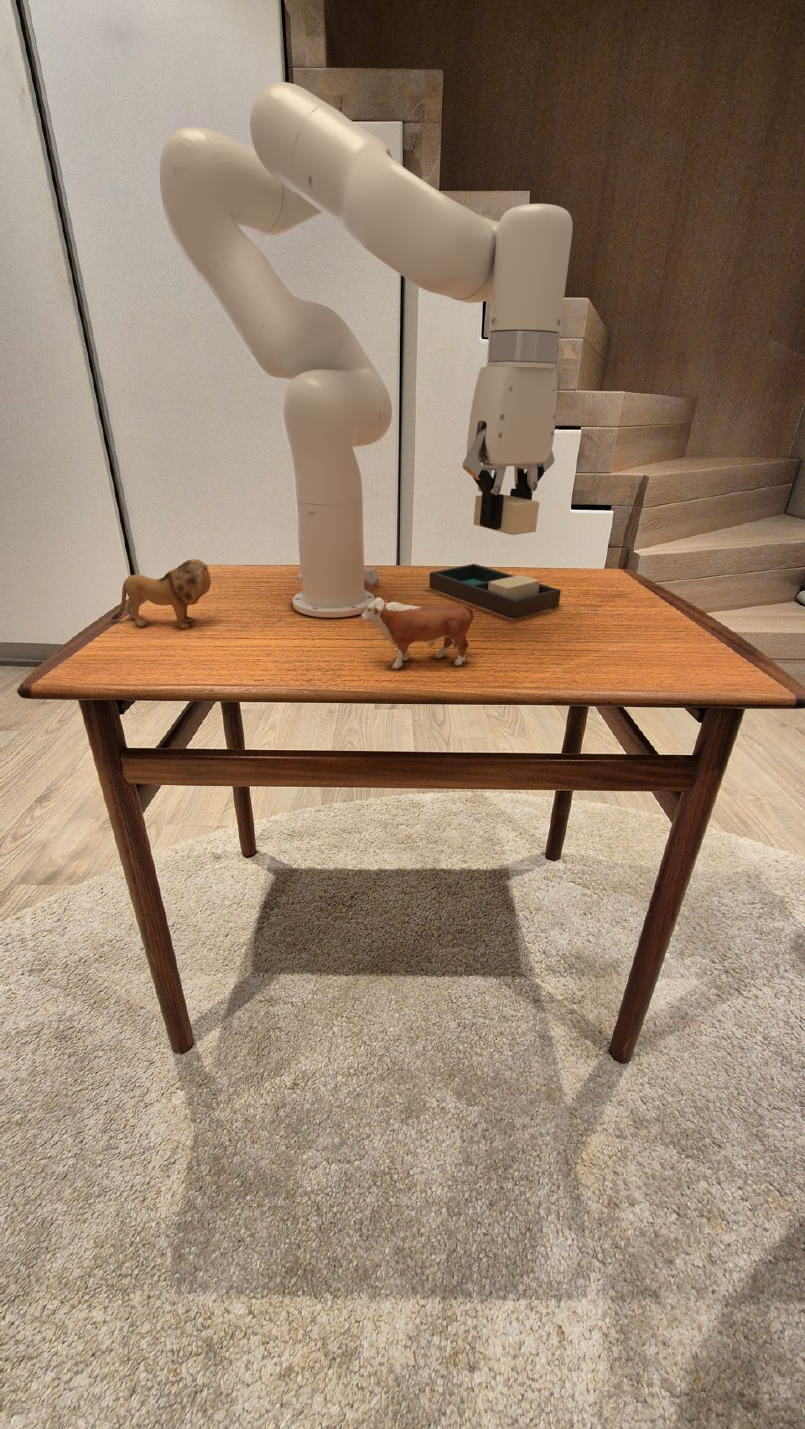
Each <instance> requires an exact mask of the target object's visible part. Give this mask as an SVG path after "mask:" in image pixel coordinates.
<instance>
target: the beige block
mask: <svg viewBox="0 0 805 1429" xmlns="http://www.w3.org/2000/svg"><path fill="white" fill-rule="evenodd" d="M513 576H514V577H509V578H505V579H500V580H496V581H491V582H489V584H488V591H491V592H494V593H497V594H500V595H503V596H506V597H509V598H512V599H514V600H515V599H519V598H523V597H527V596H531V595H535V594H538V592H539V584H541V581H540V580H539V579H536V578H533V577H529V576H525V575H522V574H519V575H513Z"/></svg>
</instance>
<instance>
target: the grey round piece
mask: <svg viewBox="0 0 805 1429" xmlns="http://www.w3.org/2000/svg"><path fill="white" fill-rule="evenodd" d="M380 583H381V578H380V574H379V573H378V571H377V569H376V568H372V567H366V568H364V589H369V588H373V587H378V586H379V584H380Z"/></svg>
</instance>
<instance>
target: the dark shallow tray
mask: <svg viewBox="0 0 805 1429" xmlns="http://www.w3.org/2000/svg"><path fill="white" fill-rule="evenodd" d="M514 576H515V575H512V574H509V573H506V572H503V571H499V570H496V569H493V568H489V567H487V566H483V565H480V564H477V563H471V564H466V565H461V566H456V567H451V568H445V569H440V570H436V571H430V572H429V586H428V587H429V588H430V589H432V590H435V591H437V592H440V593H443V594H445V595H448V596H451V597H454V598H456V599H459V600H461V601H463V602H467V603H470V604H472V605H475V606H477V607H479V608H483V609H486V610H488V611H491V612H494V613H496V614H498V615H501V616H504V617H507V618H509V619H513V620H515V619H519V618H521V617H525V616H528V615H533V614H535V613H540V612H544V611H546V610H551V609H554V608H558V607H559V606H560V600H561V592H562V589H559V588H556V587H552V586H548V585H545V584H542V583H540V584H539V592H538V594H535V595H531V596H527V597H523V598H519V599H515V600H514V599H512V598H509V597H506V596H503V595H500V594H497V593H494V592H491V591H488V584H489V582H491V581H496V580H500V579H505V578H509V577H514Z"/></svg>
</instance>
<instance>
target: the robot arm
mask: <svg viewBox="0 0 805 1429" xmlns="http://www.w3.org/2000/svg"><path fill="white" fill-rule="evenodd" d="M249 133H250V138H251V143H252V146H253V147H252V146H250V145H248V144H245V143H243V142H241V141H240V140H237V139H235V138H232V137H230V136H228V135H226V134H224V133H221V132H219V131H217V130H213V129H211V128H207V127H201V126H188V127H181V128H180V129H178V130H175V131H174V132H172V133H171V134H170V136H169V137H168V138H167V139H166V141H165V144H164V145H163V148H162V151H161V155H160V161H159V186H160V187H159V188H160V196H161V202H162V207H163V211H164V214H165V217H166V221H167V224H168V227H169V229H170V231H171V234H172V236H173V239H174V240H175V243H176V244H177V246H178V248H179V249H180V252H181V253H182V254H183V256H184V258H185V260H186V261H187V262H188V264H189V265H190V266H191V268H192V269H193V271H194V272H195V273H196V274H197V276H198V278H199V279H200V280H201V282H202V283H203V284H204V285H205V287H206V288H207V290H208V291H209V292H210V294H211V296H212V297H213V299H214V300H215V301H216V302H215V303H217V305H218V306H219V308H220V310H221V313H223V315H224V317H225V319H226V320H227V321H228V322H229V324H230V326H231V327H232V329H233V331H234V332H235V334H236V335H237V337H238V338H239V340H240V341H241V343H242V344H243V346H244V347H245V349H246V351H247V353H248V354H249V356H250V357H251V358H252V360H253V361H254V363H255V365H256V366H257V367H258V368H259V370H260V371H261V372H262V373H264V374H265V375H267V376H268V377H270V378H273V379H277V380H281V381H282V380H283V381H290V382H289V383H288V384H287V386H286V388H285V390H284V392H283V395H282V398H281V406H280V408H281V409H280V411H281V421H282V426H283V431H284V434H285V439H286V442H287V447H288V450H289V455H290V461H291V468H292V475H293V488H294V489H293V490H294V500H295V512H296V525H297V526H296V528H297V540H298V554H299V566H300V569H299V570H300V572H298V573H297V575H296V580H298V581H299V582H300V584H301V592H298V593H296V594H295V595H294V596H293V597H292V608H293V609H294V610H295V611H296V612H298V613H299V614H302V615H306V616H310V617H316V618H326V619H327V618H329V619H330V618H335V619H336V618H346V617H347V618H348V617H353V616H357V615H362V614H363V613H364V612H365V610H366V609H367V606H368V605H369V604H371V603H372V602H373V601H374V600H375V599H376V598H375V596H374V594H373V593H371V592H370V591H368V590H366V589H365V588H364V569H365V552H364V550H365V549H364V510H363V509H364V505H363V503H364V502H363V501H364V500H363V481H362V475H361V470H360V466H359V464H358V463H359V462H358V460H357V457H356V454H355V451H354V448H356V447H362V446H368V445H372V444H374V443H376V442H378V441H380V440H381V439H382V438H383V437H384V436H385V435H386V434H387V432H388V430H389V429H390V426H391V422H392V418H393V417H392V416H393V407H392V405H393V404H392V401H391V396H390V393H389V391H388V388H387V386H386V384H385V382H384V380H383V379H382V378H381V376H380V374H379V372H378V371H377V369H376V367H375V366H374V365H373V363H372V361H371V359H370V358H369V356H368V354H367V353H366V352H365V350H364V349H363V347H362V345H361V343H360V342H359V340H358V339H357V338H356V336H355V334H354V333H353V331H352V330H351V328H350V326H349V325H348V324H347V322H346V321H345V320H344V319H343V318H342V317H341V316H340V315H339V314H338V313H337V312H336V311H334V310H333V309H332V308H331V307H329V306H327V305H323V304H322V303H318V302H314V301H308V300H304V299H301V298H298V297H297V296H295V295H294V294H292V293H291V292H290V291H289V289H288V288H287V287H286V286H285V285H284V283H283V282H282V281H281V279H280V277H279V276H278V275H277V273H276V272H275V270H274V268H273V266H272V265H271V263H270V261H269V260H268V258H267V257H266V255H265V254H264V253H263V251H262V250H260V248H259V247H258V245H256V243H254V241H253V240H251V239H250V238H249V237H248V235H246V233H247V232H248V233H251V234H253V235H258V236H263V237H271V236H272V237H273V236H277V235H278V236H279V235H280V234H283V233H285V232H287V231H289V230H291V229H293V228H295V227H297V226H300V225H301V224H303V223H305V222H307V221H310V219H312V218H315V217H316V216H318V215H320V214H325V215H326V216H327V217H328V218H330V219H331V220H332V221H333V222H335V223H336V224H338V225H339V226H340V227H342V228H344V229H345V230H346V231H347V232H348V233H349V235H350V236H351V237H352V238H354V239H355V240H356V241H357V242H358V244H360V245H361V246H362V247H363V248H364V249H365V250H367V251H368V252H369V254H372V255H373V256H374V257H375V258H377V259H378V260H380V261H381V262H382V263H384V264H386V265H387V266H388V267H389V268H391V269H392V270H394V271H395V272H397V273H398V274H399V275H400V276H402V277H404V279H407V281H409V282H411V283H412V284H414V285H416V286H417V287H418V288H420V289H422V290H425V291H427V292H429V293H433V294H437V295H441V296H443V297H447V298H450V299H452V300H455V301H459V302H461V303H462V302H463V303H467V304H478V303H483V302H487V301H491V302H490V318H489V330H488V340H487V341H488V342H487V353H486V366H480V369H479V373H478V376H477V379H476V384H475V387H474V392H473V397H472V402H471V407H470V408H471V409H470V416H469V421H468V422H469V423H468V430H467V441H466V456H465V458H464V460H463V461H462V469H463V470H464V471H465V472H466V473H468V474H469V475H470V476H471V477H472V479H473V480H474V482H475V484H476V485H477V490H478V492H480V493H481V495H482V500H481V512H480V525H481V526H483V527H482V528H484V527H487V528H486V529H488V528H491V529H494V530H493V531H495V530H497V529H500V527H501V519H502V509H503V502H504V495H505V494H504V495H502V494H503V493H501V491H502V488H503V482H504V478H505V474H506V470H507V467H513V468H514V470H513V472H514V473H513V474H514V475H513V476H514V487H515V488H514V487H513V488H510V492H509V496H513V497H518V498H523V499H527V500H532V501H533V493H534V492H536V490H537V489H538V483H539V481H540V480H541V479H542V477H543V476H544V474H545V473H546V472H547V471H548V470H549V469H550V468H551V467H552V466H553V465H554V464H555V456H554V453H553V446H554V445H553V444H554V439H555V430H556V420H557V407H558V406H557V404H558V371H557V369H556V365H557V357H558V355H559V354H560V346H559V341H560V331H561V323H562V316H563V309H564V302H565V294H566V286H567V278H568V269H569V263H570V253H571V248H572V247H571V246H572V241H573V240H572V239H573V230H574V229H573V228H574V226H573V225H574V224H573V218H572V215H571V213H570V212H569V211H568V210H567V209H566V208H564V207H562V206H559V205H555V204H550V203H527V204H526V203H525V204H521V205H516V206H514V207H512V208H509V209H508V210H506V211H505V212H504V213H503V214H502V215H501V218H500V219H499V221H496V220H492V219H490V218H487V217H484V216H482V215H480V214H478V213H476V212H475V211H474V210H472V209H470V208H468V207H467V206H465V205H462V204H461V203H459V202H457V201H455V200H454V199H452V198H450V197H449V196H447V195H446V194H444V193H443V192H441V191H440V190H438V189H436V188H435V187H433V186H432V185H431V184H429V183H428V182H426V181H424V180H423V179H421V178H420V177H418V176H417V175H415V174H414V173H412V171H410V170H409V169H407V168H406V167H404V166H402V165H401V164H400V163H398V162H397V161H396V160H394V158H393V156H392V153H391V150H390V148H389V147H388V145H387V144H386V143H385V142H384V141H382V140H381V139H380V138H378V137H376V136H375V135H373V134H372V133H371V132H369V131H367V130H366V129H364V128H363V127H362V126H360V125H359V124H357V123H355V122H354V121H352V120H351V119H349V118H348V117H347V116H345V115H344V114H343V113H342V111H340V110H339V109H337V108H335V107H334V106H332V105H331V104H329V103H327V102H326V101H324V100H323V99H321V98H320V97H318V96H317V95H316V94H314V93H312V92H310V91H309V90H307V89H306V88H304V87H303V86H300V85H298V84H295V83H290V82H286V81H278V82H273V83H271V84H269V85H267V86H266V87H264V88H263V89H262V90H261V91H260V92H259V93H258V94H257V96H256V97H255V100H254V101H253V104H252V106H251V111H250V114H249ZM245 232H246V233H245ZM492 471H493V472H494V473H493V472H492ZM492 473H493V476H492ZM491 529H490V530H491Z"/></svg>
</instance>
